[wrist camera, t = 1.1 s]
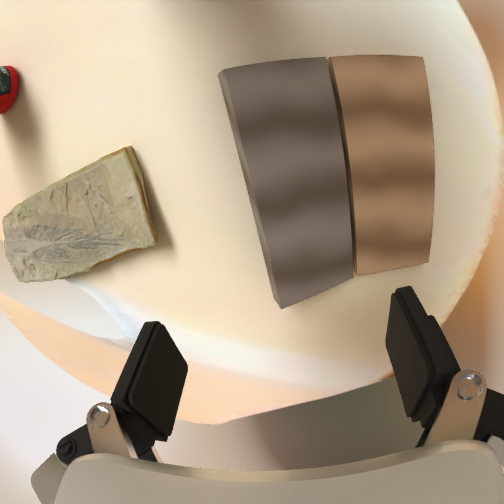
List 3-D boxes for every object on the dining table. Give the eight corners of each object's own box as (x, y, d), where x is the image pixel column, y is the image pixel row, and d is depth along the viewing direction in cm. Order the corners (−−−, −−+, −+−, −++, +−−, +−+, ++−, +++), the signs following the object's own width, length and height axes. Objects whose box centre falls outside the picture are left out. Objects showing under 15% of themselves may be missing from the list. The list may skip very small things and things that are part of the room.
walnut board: (326, 59, 20) (330, 56, 18) (413, 58, 18) (422, 57, 16) (353, 265, 31) (357, 276, 29) (421, 253, 29) (428, 262, 27)
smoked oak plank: (217, 74, 18) (223, 69, 17) (313, 60, 20) (325, 57, 18) (273, 298, 29) (281, 309, 27) (343, 268, 31) (353, 277, 29)
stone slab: (-13, 228, 28) (110, 143, 21) (3, 216, 32) (131, 135, 25) (23, 292, 34) (161, 259, 27) (36, 278, 37) (174, 239, 31)
